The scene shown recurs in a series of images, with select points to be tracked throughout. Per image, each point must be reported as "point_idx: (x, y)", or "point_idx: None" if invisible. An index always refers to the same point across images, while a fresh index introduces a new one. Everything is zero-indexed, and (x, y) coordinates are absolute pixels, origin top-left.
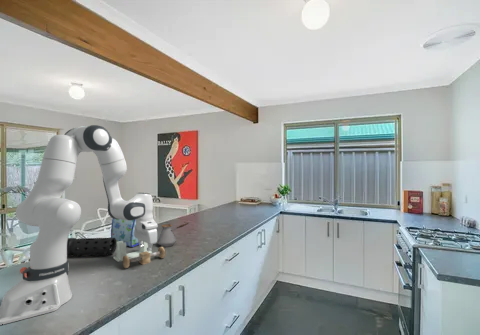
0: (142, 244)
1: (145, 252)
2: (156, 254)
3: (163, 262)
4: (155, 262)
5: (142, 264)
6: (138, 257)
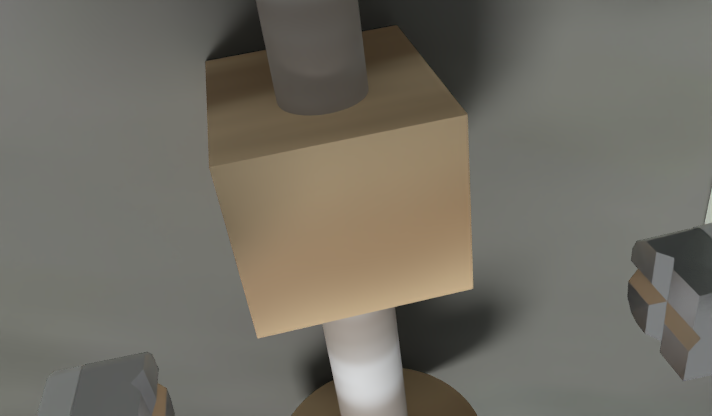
0: (675, 339)
1: (399, 257)
2: (335, 386)
3: None
4: (203, 279)
5: (225, 58)
6: (290, 36)
